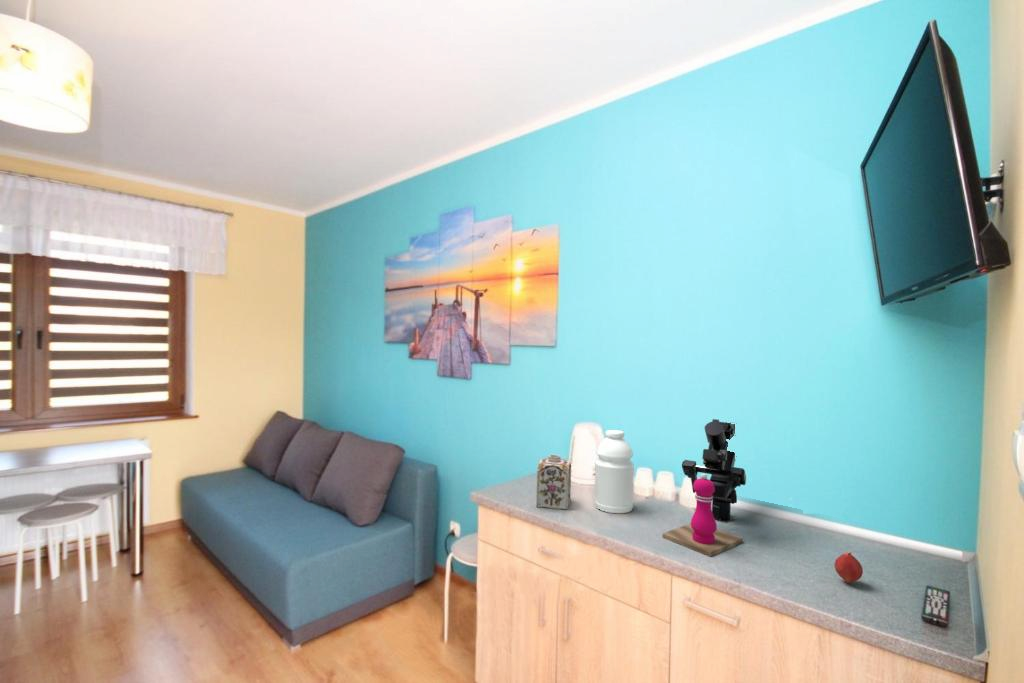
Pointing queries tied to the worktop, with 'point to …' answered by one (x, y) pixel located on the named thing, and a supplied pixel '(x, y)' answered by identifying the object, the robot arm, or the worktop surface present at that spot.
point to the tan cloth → (685, 538)
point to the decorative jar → (553, 482)
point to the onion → (848, 567)
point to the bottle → (614, 474)
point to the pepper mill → (703, 512)
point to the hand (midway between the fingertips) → (708, 495)
